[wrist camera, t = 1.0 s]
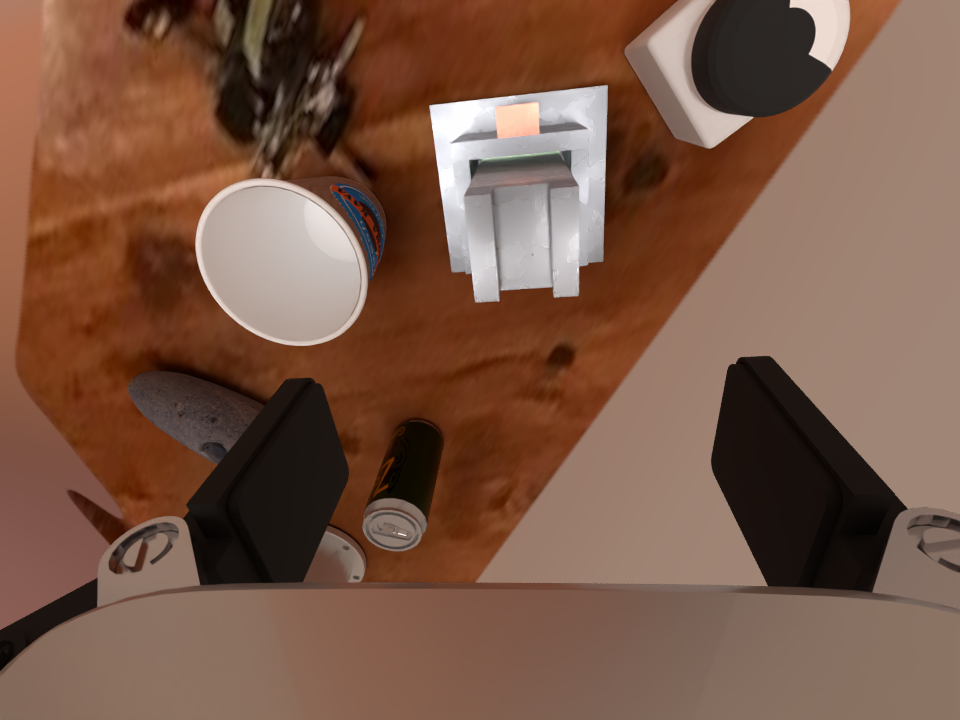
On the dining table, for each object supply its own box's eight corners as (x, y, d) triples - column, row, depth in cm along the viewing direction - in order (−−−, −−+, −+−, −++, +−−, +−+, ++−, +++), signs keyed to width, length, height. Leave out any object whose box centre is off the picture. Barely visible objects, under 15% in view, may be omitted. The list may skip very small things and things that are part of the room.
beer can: (451, 427, 48) (433, 520, 38) (435, 464, 51) (413, 560, 40) (401, 409, 48) (368, 499, 37) (387, 447, 50) (352, 541, 40)
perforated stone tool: (149, 379, 48) (96, 421, 42) (161, 341, 46) (107, 379, 40) (287, 446, 51) (256, 494, 45) (304, 414, 49) (274, 460, 43)
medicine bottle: (675, 140, 34) (744, 163, 24) (620, 50, 32) (671, 31, 21) (773, 64, 31) (900, 52, 21) (722, -40, 29) (836, -113, 19)
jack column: (558, 221, 36) (581, 297, 23) (489, 227, 36) (473, 304, 23) (556, 146, 33) (581, 183, 20) (483, 153, 34) (460, 194, 21)
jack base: (600, 255, 38) (618, 292, 32) (454, 266, 40) (440, 303, 33) (604, 85, 33) (627, 84, 26) (432, 104, 34) (410, 108, 27)
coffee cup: (424, 266, 40) (391, 328, 30) (315, 293, 42) (248, 360, 32) (380, 136, 35) (322, 155, 25) (259, 173, 37) (159, 206, 27)
